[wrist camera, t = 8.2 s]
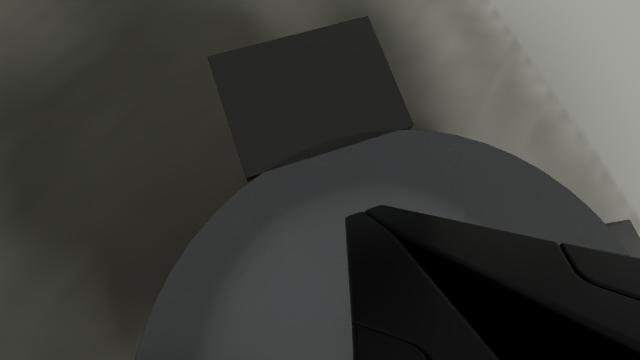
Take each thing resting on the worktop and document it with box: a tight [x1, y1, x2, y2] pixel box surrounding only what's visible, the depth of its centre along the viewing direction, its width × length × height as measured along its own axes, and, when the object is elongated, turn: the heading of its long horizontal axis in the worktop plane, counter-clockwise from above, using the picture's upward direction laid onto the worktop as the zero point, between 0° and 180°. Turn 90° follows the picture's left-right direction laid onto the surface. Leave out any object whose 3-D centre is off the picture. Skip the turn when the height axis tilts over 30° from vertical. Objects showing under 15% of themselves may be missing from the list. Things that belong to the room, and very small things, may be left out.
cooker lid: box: [135, 16, 630, 360], centre depth 8 cm, size 14×11×1 cm
